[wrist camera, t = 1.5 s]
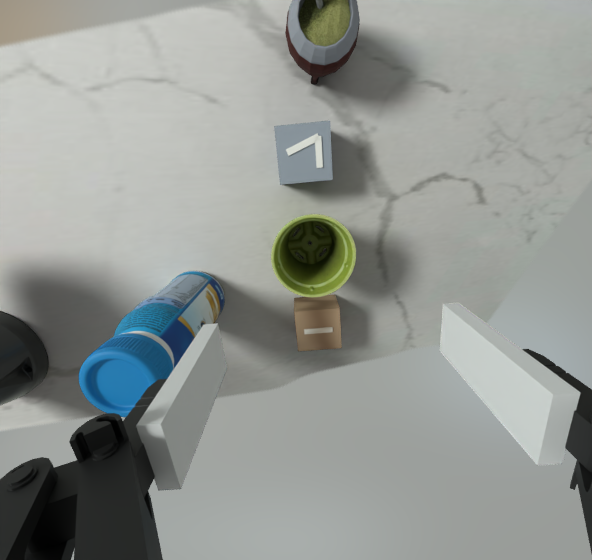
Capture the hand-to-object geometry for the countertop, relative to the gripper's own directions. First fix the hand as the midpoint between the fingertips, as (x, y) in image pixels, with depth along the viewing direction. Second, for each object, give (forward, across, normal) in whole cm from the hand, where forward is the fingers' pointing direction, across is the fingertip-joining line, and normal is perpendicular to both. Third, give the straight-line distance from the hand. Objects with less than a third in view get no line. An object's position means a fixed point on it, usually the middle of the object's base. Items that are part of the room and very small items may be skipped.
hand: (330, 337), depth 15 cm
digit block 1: (+26, 0, -11) cm, 29 cm away
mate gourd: (+26, +2, +22) cm, 34 cm away
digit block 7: (+26, 0, +11) cm, 28 cm away
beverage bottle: (+26, -17, -6) cm, 32 cm away
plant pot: (+26, 0, 0) cm, 26 cm away
